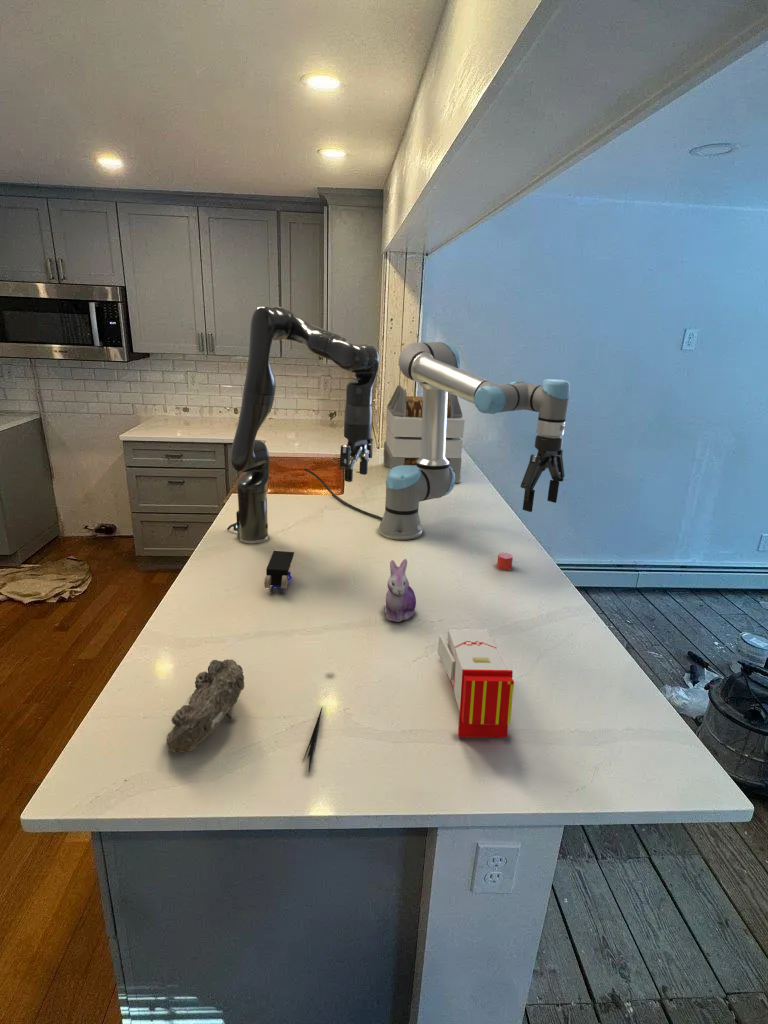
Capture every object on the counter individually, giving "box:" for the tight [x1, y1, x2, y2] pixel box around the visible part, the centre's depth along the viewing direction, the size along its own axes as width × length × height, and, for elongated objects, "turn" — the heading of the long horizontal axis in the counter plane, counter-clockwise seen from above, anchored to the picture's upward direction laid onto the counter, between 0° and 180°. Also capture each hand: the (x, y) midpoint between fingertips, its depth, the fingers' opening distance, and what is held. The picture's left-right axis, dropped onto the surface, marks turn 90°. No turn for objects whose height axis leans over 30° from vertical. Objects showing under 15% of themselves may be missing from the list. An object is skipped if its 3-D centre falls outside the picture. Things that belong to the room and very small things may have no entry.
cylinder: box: [496, 552, 514, 572], centre depth 177 cm, size 5×5×4 cm
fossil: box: [166, 658, 245, 754], centre depth 106 cm, size 22×10×15 cm
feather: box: [301, 673, 332, 771], centre depth 108 cm, size 2×28×2 cm
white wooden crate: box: [383, 384, 465, 484], centre depth 268 cm, size 34×33×41 cm
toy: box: [437, 628, 515, 738], centre depth 117 cm, size 12×13×30 cm
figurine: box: [384, 558, 417, 623], centre depth 145 cm, size 9×10×15 cm
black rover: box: [264, 550, 295, 594], centre depth 159 cm, size 7×8×15 cm
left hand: (355, 477), depth 160 cm, fingers open, 8 cm apart
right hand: (539, 506), depth 168 cm, fingers open, 13 cm apart
